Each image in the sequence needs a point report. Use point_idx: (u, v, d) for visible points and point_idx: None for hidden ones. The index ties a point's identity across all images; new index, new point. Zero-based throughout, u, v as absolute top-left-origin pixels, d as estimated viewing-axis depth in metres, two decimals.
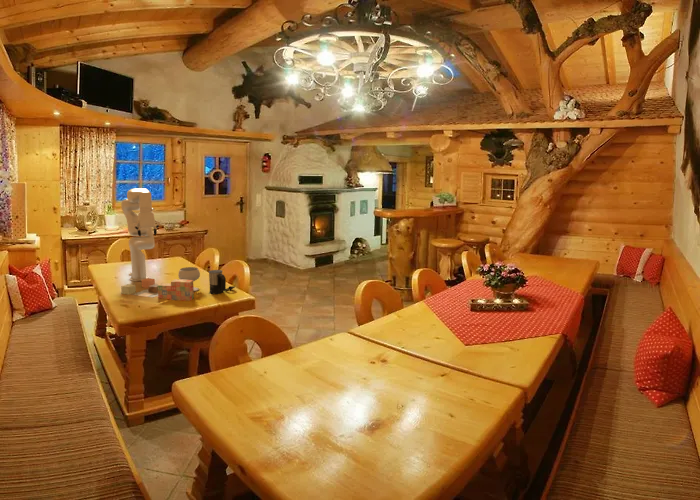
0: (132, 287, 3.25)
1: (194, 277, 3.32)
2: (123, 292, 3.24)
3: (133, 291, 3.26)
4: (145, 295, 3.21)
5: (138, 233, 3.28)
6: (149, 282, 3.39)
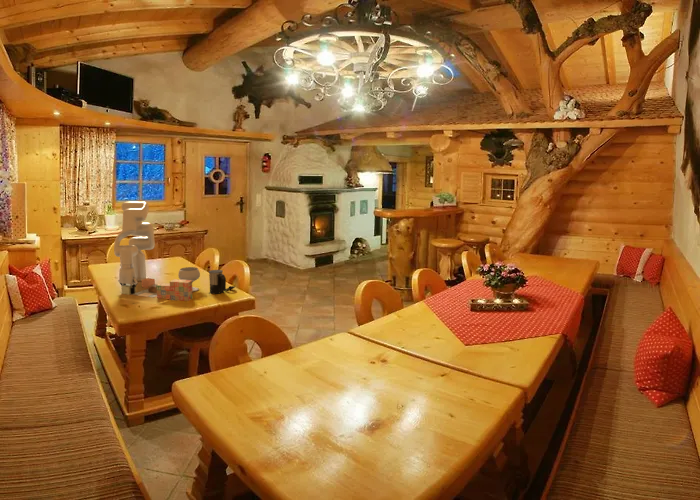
0: None
1: (194, 277, 3.32)
2: (123, 292, 3.24)
3: None
4: (145, 295, 3.21)
5: (134, 290, 3.25)
6: (149, 282, 3.39)
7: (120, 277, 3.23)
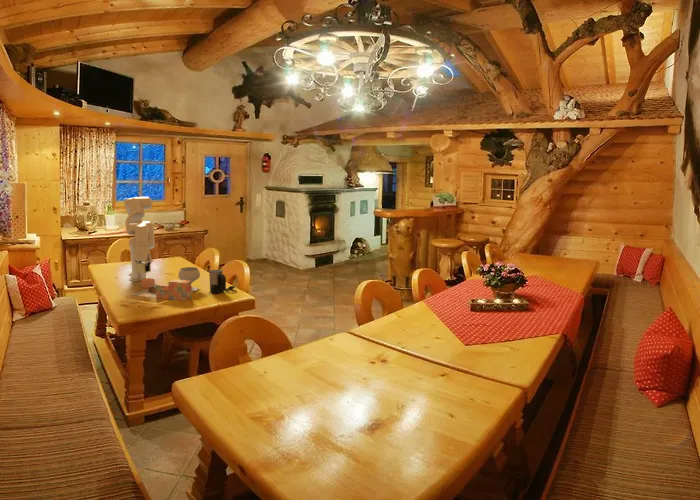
0: None
1: (194, 277, 3.32)
2: (138, 269, 3.24)
3: None
4: (145, 295, 3.21)
5: (149, 268, 3.25)
6: (149, 282, 3.39)
7: (135, 254, 3.23)
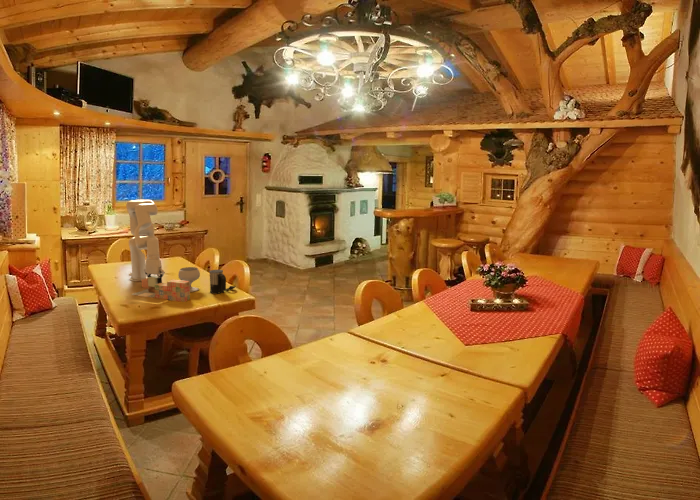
0: None
1: (194, 277, 3.32)
2: (149, 283, 3.28)
3: None
4: (145, 295, 3.21)
5: (161, 280, 3.29)
6: None
7: (146, 267, 3.27)
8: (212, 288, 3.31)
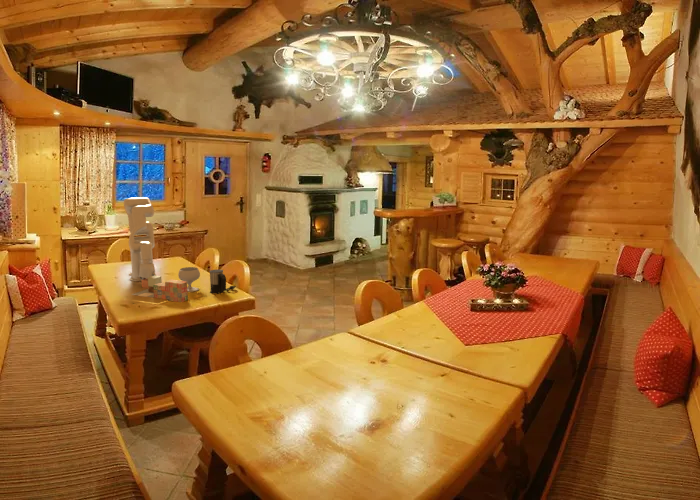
0: (158, 278, 3.29)
1: (194, 277, 3.32)
2: (149, 283, 3.28)
3: (159, 282, 3.30)
4: (145, 295, 3.21)
5: None
6: None
7: (140, 271, 3.40)
8: (212, 288, 3.31)
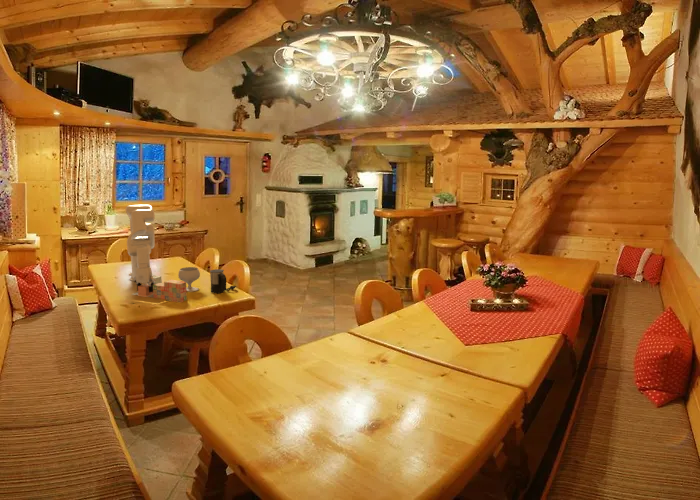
0: (158, 278, 3.29)
1: (194, 277, 3.32)
2: None
3: (159, 282, 3.30)
4: None
5: None
6: (146, 288, 3.19)
7: (137, 276, 3.19)
8: (213, 288, 3.32)
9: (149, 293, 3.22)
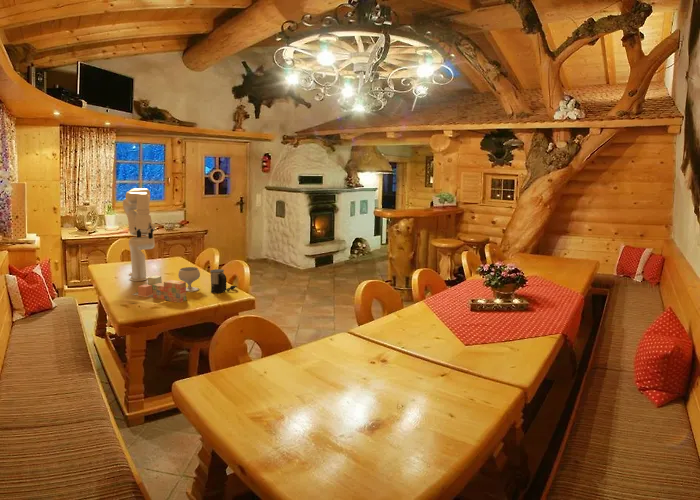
0: (158, 278, 3.29)
1: (194, 277, 3.32)
2: (149, 283, 3.28)
3: (159, 282, 3.30)
4: None
5: (152, 235, 3.28)
6: (146, 288, 3.19)
7: (136, 223, 3.26)
8: (213, 287, 3.32)
9: (149, 293, 3.22)
